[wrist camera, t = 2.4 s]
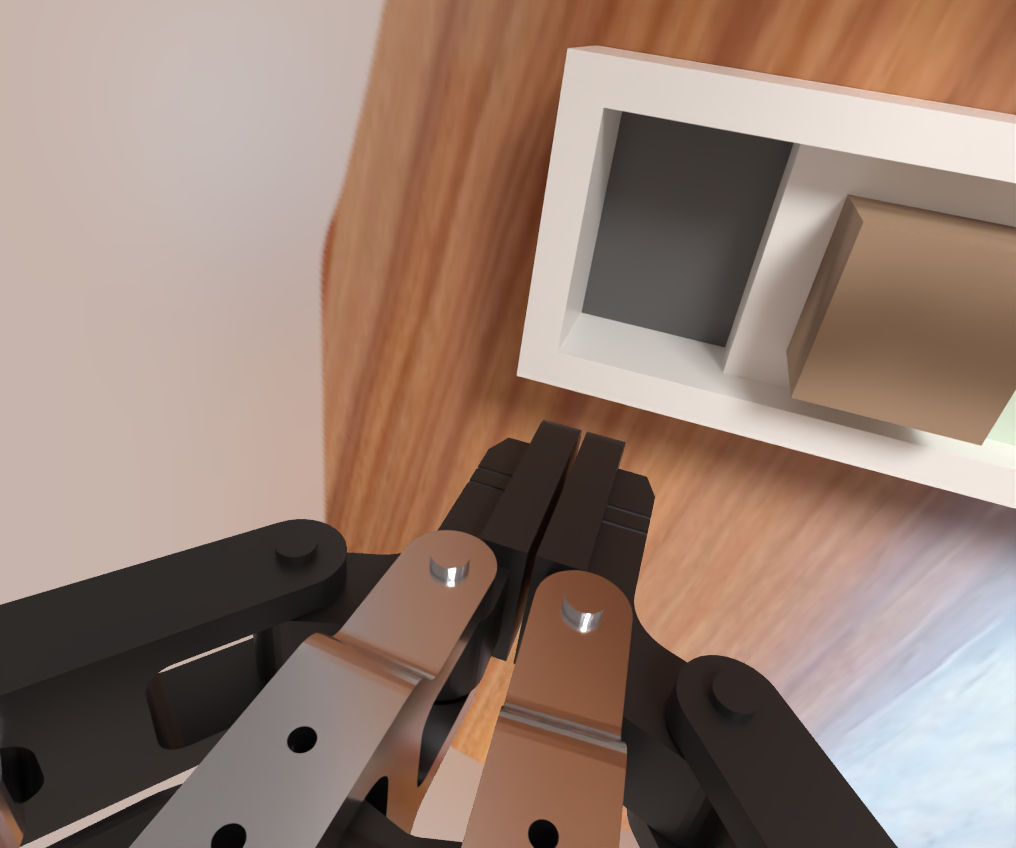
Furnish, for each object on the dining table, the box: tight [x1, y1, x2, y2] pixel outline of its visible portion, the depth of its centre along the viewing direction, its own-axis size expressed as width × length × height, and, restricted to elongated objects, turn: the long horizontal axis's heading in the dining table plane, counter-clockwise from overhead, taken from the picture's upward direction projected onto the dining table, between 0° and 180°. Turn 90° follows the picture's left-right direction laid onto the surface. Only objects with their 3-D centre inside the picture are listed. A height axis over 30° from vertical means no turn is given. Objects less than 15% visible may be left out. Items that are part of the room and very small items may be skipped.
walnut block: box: [786, 194, 1016, 446], centre depth 22 cm, size 6×6×4 cm
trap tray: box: [517, 45, 1016, 509], centre depth 24 cm, size 12×32×5 cm, turn 82°
